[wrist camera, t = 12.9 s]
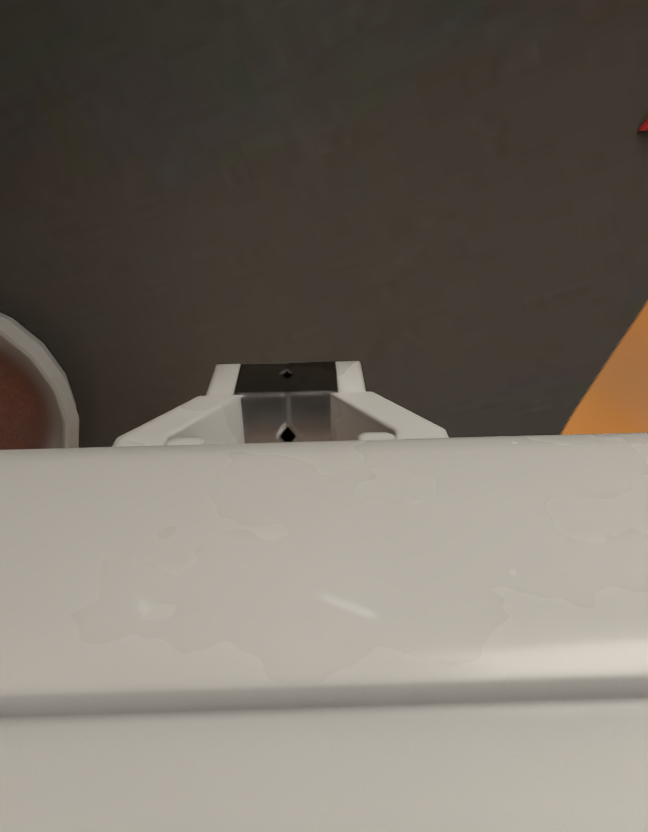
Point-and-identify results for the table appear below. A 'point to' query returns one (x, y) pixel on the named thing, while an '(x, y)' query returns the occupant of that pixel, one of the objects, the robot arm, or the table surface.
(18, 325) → the frying pan
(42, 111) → the table surface
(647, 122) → the cayenne pepper
